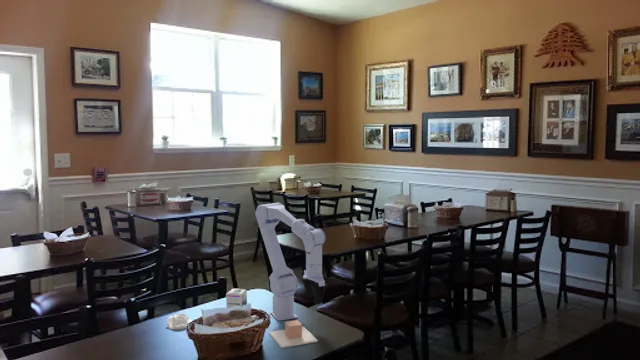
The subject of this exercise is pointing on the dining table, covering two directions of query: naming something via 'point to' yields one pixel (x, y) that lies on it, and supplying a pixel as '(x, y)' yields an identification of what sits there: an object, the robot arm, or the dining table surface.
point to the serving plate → (286, 342)
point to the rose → (178, 321)
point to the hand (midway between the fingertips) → (314, 300)
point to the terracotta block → (293, 329)
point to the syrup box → (236, 297)
